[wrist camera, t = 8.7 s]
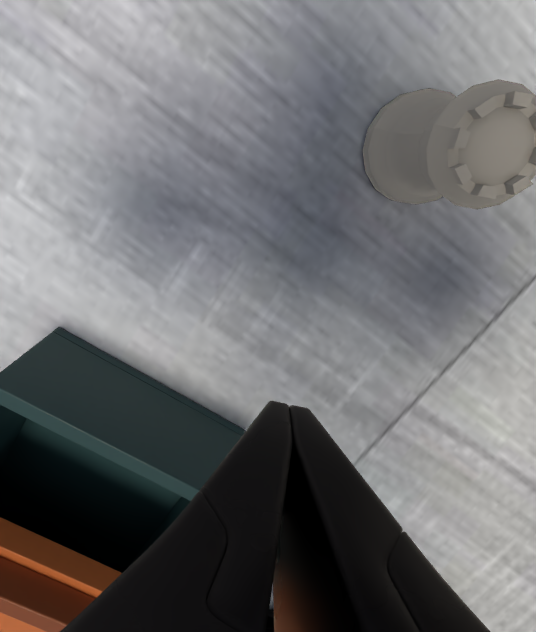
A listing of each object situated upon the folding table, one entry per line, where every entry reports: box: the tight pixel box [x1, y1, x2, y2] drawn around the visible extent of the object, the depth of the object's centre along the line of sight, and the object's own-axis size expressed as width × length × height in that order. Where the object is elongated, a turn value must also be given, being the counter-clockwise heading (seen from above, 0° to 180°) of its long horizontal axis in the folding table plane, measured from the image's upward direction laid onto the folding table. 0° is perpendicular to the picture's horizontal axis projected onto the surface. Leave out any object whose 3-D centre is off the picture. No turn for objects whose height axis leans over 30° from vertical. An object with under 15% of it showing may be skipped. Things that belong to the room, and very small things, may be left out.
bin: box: [0, 327, 244, 573], centre depth 23 cm, size 19×12×6 cm, turn 147°
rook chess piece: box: [363, 79, 536, 209], centre depth 14 cm, size 4×4×8 cm
